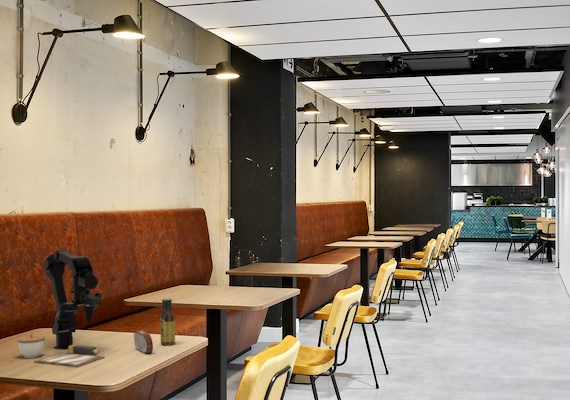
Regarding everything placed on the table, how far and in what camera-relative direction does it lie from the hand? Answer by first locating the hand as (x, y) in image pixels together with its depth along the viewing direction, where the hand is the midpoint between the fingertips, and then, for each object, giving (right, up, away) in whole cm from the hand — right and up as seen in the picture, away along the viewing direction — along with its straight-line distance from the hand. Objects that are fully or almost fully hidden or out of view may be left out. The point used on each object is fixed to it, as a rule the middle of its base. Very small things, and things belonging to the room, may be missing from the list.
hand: (81, 324), depth 308 cm
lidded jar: (-20, -13, -2) cm, 24 cm away
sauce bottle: (+34, -11, +14) cm, 38 cm away
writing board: (-2, -12, -11) cm, 17 cm away
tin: (+25, -12, +1) cm, 28 cm away
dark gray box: (0, -12, 0) cm, 12 cm away
